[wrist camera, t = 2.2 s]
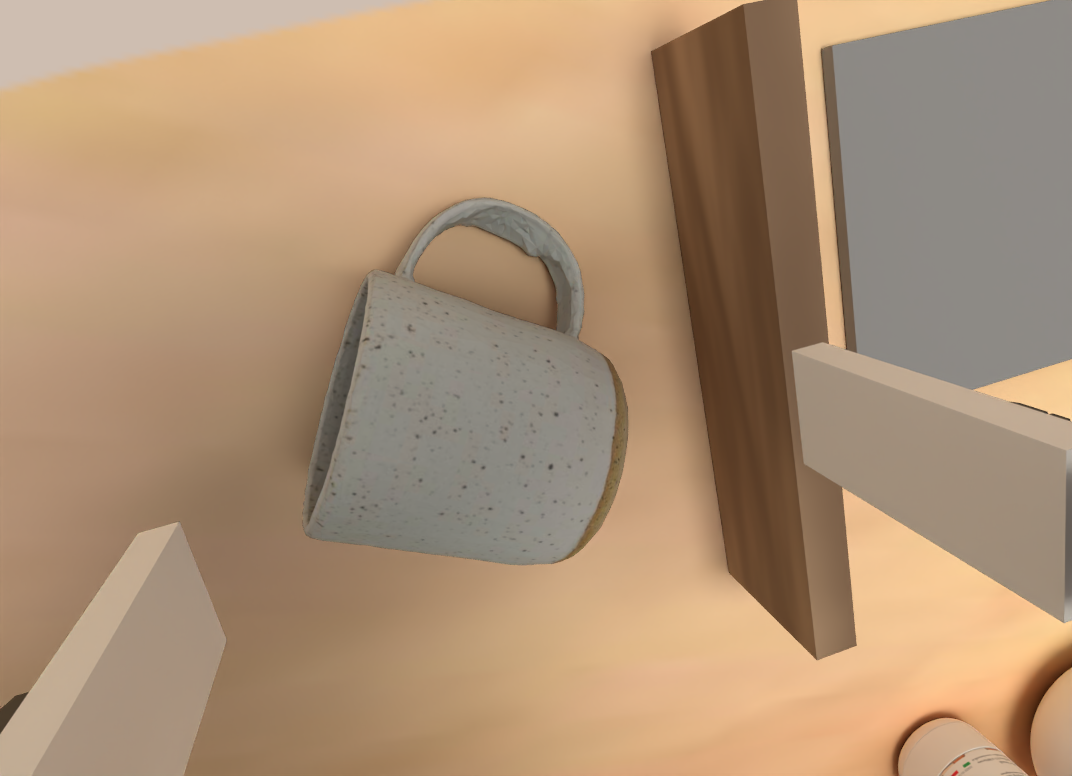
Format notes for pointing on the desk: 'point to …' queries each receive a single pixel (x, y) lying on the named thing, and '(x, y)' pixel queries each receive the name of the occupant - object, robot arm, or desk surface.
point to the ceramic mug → (468, 415)
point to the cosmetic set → (977, 764)
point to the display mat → (956, 193)
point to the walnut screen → (756, 305)
